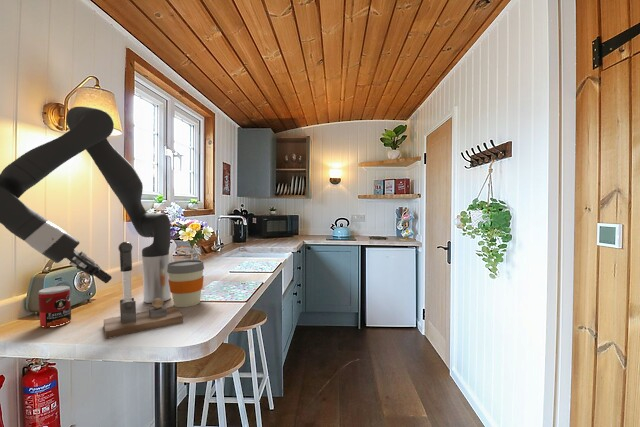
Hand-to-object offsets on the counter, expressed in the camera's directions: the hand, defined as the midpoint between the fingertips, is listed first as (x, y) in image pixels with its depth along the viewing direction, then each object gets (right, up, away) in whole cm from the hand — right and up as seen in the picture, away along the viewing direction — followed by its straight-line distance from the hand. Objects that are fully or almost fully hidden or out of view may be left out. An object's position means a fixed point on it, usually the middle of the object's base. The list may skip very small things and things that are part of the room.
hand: (109, 280), depth 96 cm
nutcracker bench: (+7, -14, +5) cm, 17 cm away
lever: (+4, -9, +3) cm, 10 cm away
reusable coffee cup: (+12, -14, +26) cm, 32 cm away
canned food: (-21, -15, +7) cm, 27 cm away
